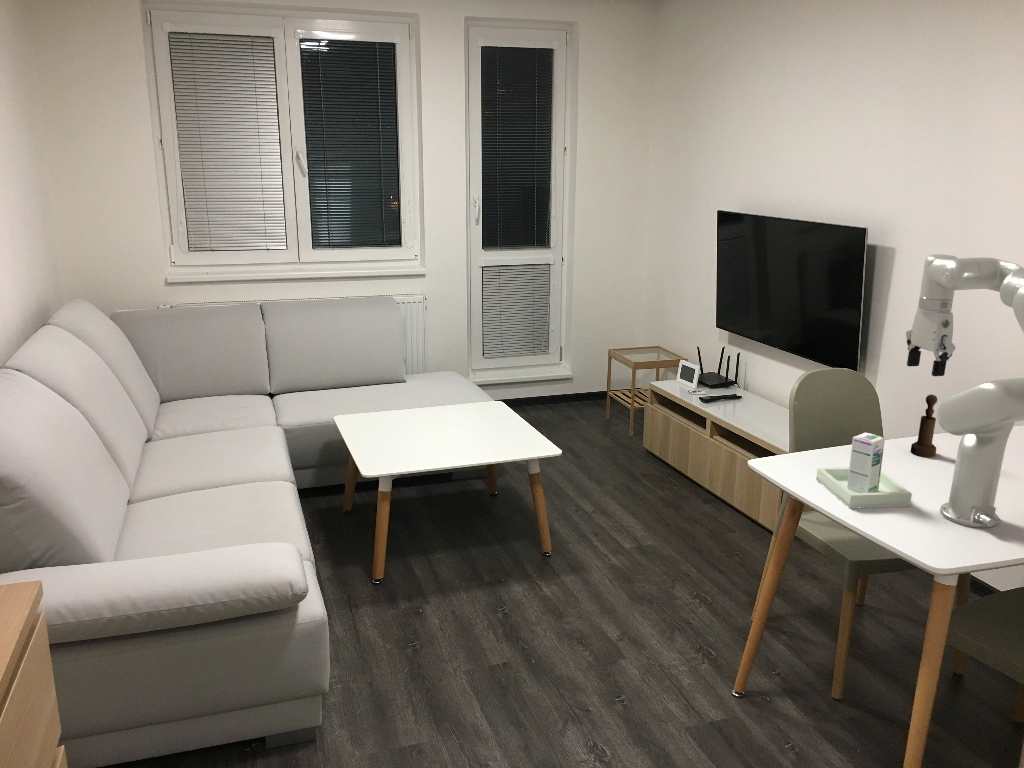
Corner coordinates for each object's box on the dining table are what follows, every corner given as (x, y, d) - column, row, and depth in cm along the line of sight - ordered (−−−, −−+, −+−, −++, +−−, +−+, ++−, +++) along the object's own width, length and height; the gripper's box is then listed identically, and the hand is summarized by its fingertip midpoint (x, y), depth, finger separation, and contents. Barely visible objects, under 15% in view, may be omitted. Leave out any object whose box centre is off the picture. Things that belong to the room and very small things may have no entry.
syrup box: (867, 495, 209) (874, 442, 205) (845, 488, 214) (852, 435, 210) (878, 490, 213) (886, 437, 209) (857, 482, 217) (864, 431, 213)
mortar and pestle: (930, 450, 245) (939, 392, 240) (938, 458, 238) (948, 398, 233) (907, 449, 245) (916, 391, 240) (915, 456, 239) (924, 397, 234)
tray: (909, 506, 206) (911, 493, 205) (849, 508, 204) (850, 495, 203) (872, 478, 223) (874, 466, 222) (816, 480, 221) (817, 468, 220)
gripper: (973, 310, 198) (961, 379, 202) (925, 298, 214) (916, 361, 219) (945, 311, 196) (934, 380, 201) (899, 299, 213) (890, 362, 218)
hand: (925, 370), depth 210 cm, fingers open, 9 cm apart
